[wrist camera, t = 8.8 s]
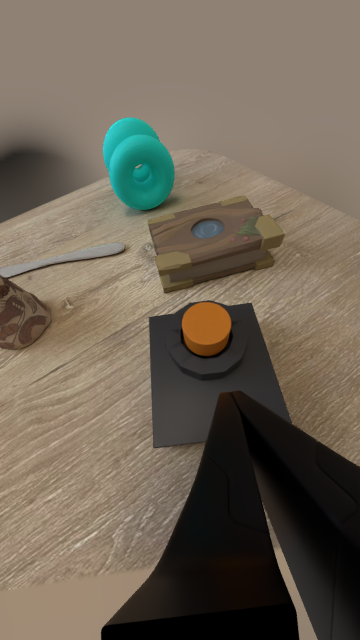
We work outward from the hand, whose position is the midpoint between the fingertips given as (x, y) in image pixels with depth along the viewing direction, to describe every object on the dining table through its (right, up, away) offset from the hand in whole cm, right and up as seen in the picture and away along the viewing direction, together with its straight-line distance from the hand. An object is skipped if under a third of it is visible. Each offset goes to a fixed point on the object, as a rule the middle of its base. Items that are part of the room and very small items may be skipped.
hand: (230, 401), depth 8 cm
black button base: (+1, -3, +13) cm, 13 cm away
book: (+2, +13, +22) cm, 25 cm away
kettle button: (0, +2, +9) cm, 9 cm away
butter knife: (-23, +11, +24) cm, 35 cm away
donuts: (-8, +26, +30) cm, 41 cm away
